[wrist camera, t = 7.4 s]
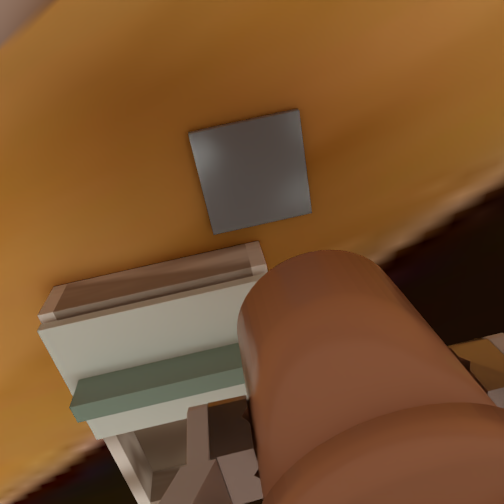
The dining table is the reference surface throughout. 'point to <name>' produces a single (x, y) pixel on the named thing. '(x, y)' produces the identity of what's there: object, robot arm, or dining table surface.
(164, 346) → the sliding lid panel
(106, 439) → the sliding lid box
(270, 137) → the slate tile
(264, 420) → the terracotta knob
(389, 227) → the dining table surface
